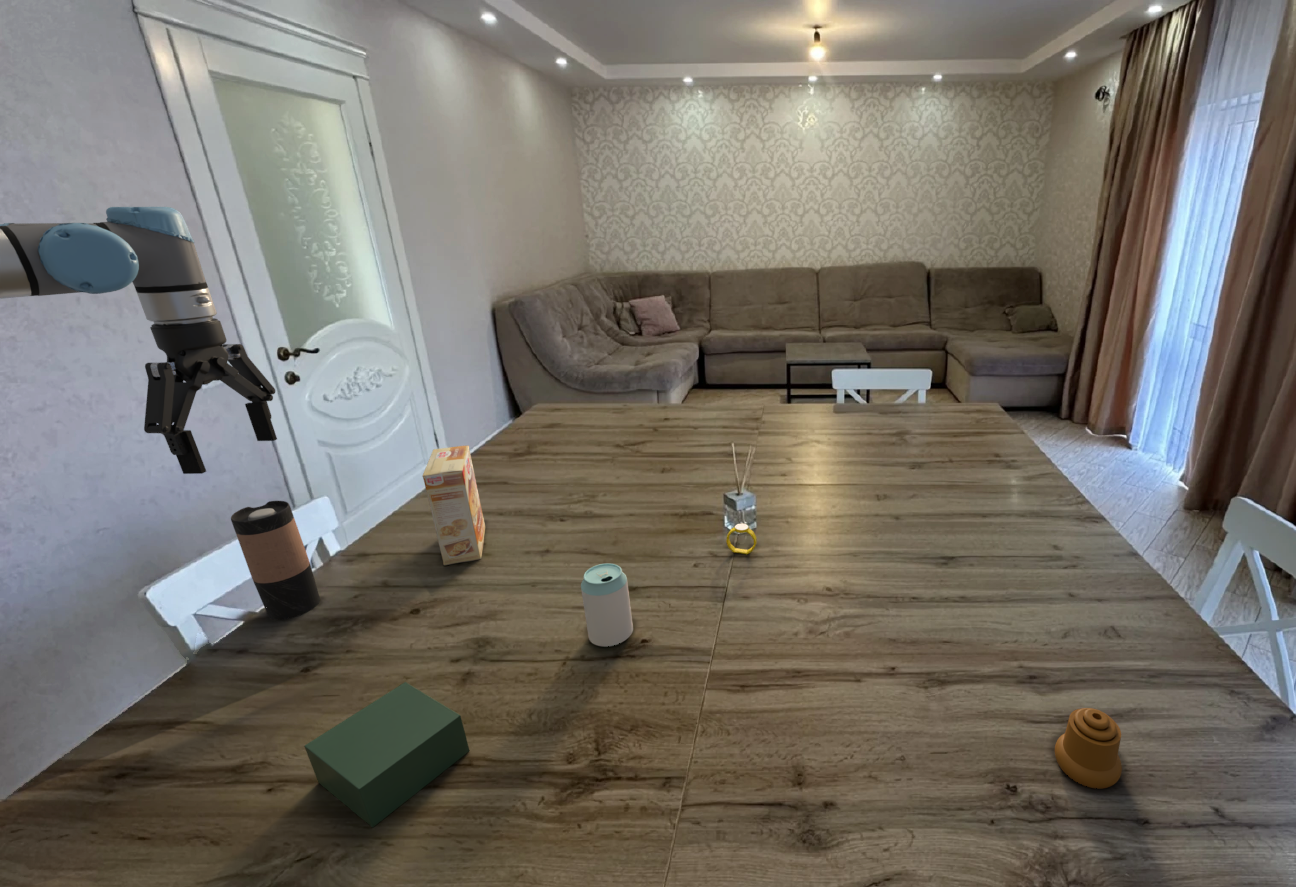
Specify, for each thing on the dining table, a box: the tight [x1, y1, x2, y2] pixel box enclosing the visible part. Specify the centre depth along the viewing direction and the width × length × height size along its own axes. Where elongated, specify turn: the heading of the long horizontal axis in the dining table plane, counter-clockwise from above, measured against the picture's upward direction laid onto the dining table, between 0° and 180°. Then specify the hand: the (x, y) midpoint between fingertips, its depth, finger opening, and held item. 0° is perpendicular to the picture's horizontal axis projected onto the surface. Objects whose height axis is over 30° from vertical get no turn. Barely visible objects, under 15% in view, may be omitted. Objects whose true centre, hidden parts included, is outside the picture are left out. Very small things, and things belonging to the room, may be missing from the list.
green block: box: [303, 681, 470, 828], centre depth 75 cm, size 12×12×6 cm
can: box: [580, 562, 634, 648], centre depth 97 cm, size 7×7×12 cm
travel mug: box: [230, 500, 321, 621], centre depth 102 cm, size 8×8×20 cm
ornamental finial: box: [1054, 707, 1123, 790], centre depth 74 cm, size 8×8×8 cm
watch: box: [725, 523, 758, 555], centre depth 122 cm, size 6×3×6 cm, turn 82°
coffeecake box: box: [421, 445, 486, 566], centre depth 123 cm, size 15×7×20 cm, turn 22°
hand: (233, 455), depth 96 cm, fingers open, 13 cm apart
